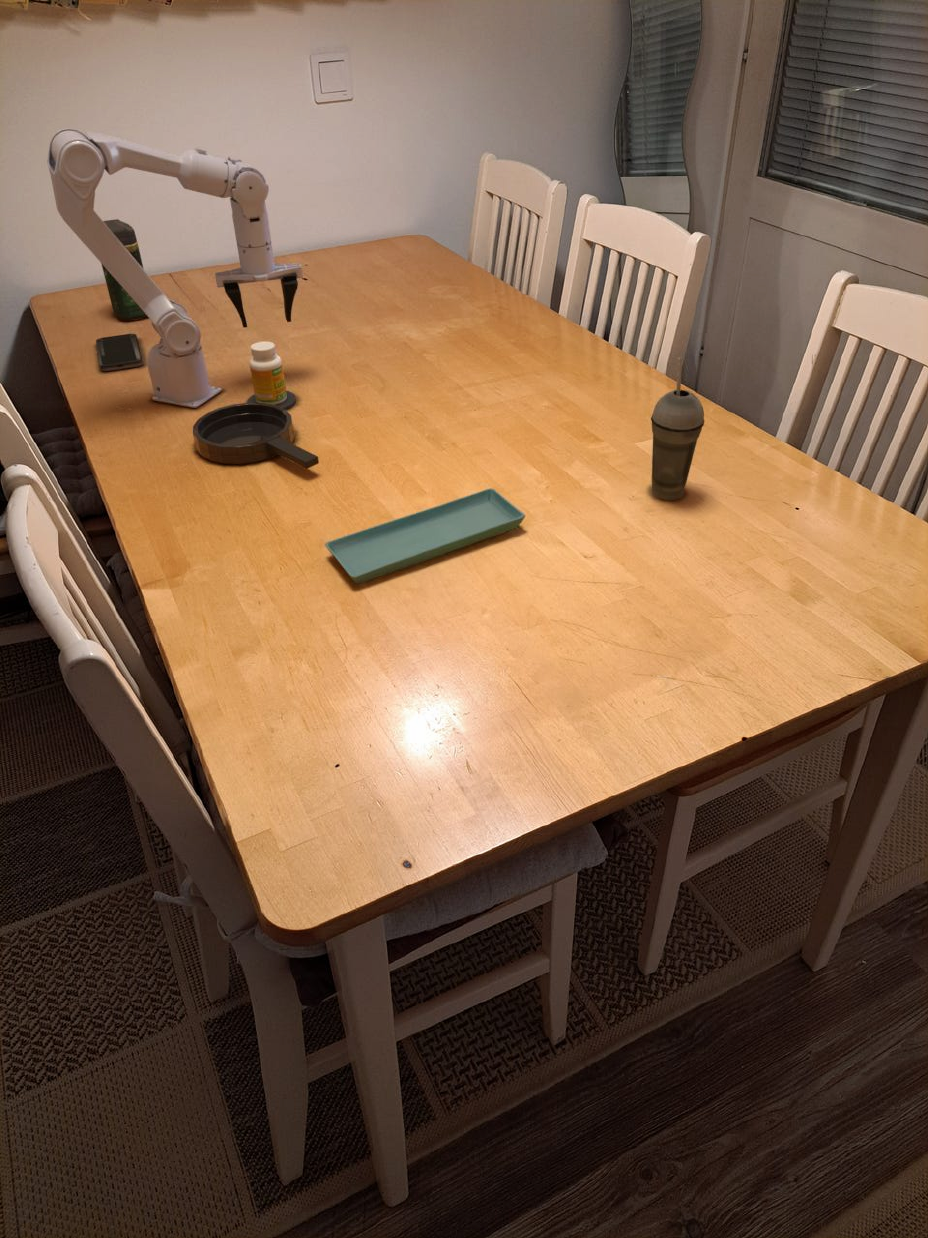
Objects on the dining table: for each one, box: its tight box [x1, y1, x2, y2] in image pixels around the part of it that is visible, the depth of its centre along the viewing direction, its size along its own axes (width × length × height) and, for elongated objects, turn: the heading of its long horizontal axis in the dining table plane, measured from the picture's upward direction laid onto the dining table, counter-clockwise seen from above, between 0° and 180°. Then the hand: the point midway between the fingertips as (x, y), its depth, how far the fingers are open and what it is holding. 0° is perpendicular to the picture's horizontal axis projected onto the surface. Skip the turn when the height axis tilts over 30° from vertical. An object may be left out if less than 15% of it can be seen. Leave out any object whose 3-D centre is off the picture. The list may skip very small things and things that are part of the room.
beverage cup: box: [650, 356, 706, 501], centre depth 126 cm, size 7×7×20 cm
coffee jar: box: [100, 218, 148, 321], centre depth 188 cm, size 10×8×19 cm
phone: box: [95, 333, 144, 373], centre depth 176 cm, size 8×1×15 cm
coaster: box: [246, 390, 297, 411], centre depth 158 cm, size 8×8×1 cm
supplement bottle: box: [249, 340, 287, 405], centre depth 155 cm, size 5×5×10 cm
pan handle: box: [266, 437, 320, 470], centre depth 139 cm, size 10×2×1 cm, turn 47°
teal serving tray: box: [324, 487, 526, 585], centre depth 122 cm, size 26×9×2 cm, turn 120°
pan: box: [192, 402, 295, 465], centre depth 146 cm, size 16×16×3 cm
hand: (266, 322), depth 160 cm, fingers open, 7 cm apart
